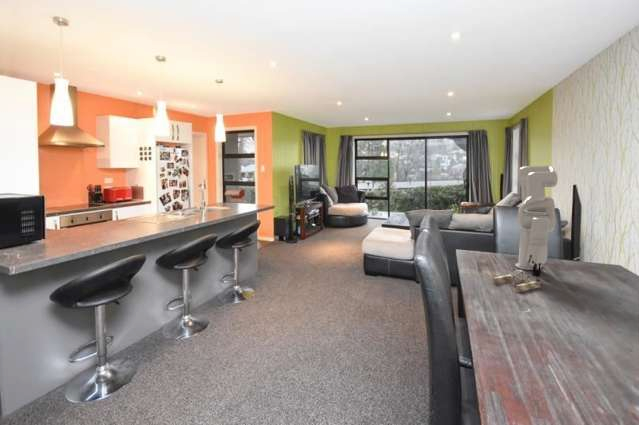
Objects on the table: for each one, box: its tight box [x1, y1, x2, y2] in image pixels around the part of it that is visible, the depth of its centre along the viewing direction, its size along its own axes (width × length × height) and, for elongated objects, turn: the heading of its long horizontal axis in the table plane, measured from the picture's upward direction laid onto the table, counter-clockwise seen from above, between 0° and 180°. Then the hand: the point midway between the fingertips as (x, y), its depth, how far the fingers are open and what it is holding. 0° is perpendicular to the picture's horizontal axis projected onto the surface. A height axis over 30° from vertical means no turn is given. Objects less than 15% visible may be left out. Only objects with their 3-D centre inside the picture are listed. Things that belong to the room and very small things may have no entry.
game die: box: [508, 268, 531, 287], centre depth 172 cm, size 9×8×10 cm
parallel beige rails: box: [492, 273, 542, 293], centre depth 171 cm, size 16×14×4 cm
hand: (536, 276), depth 177 cm, fingers closed
